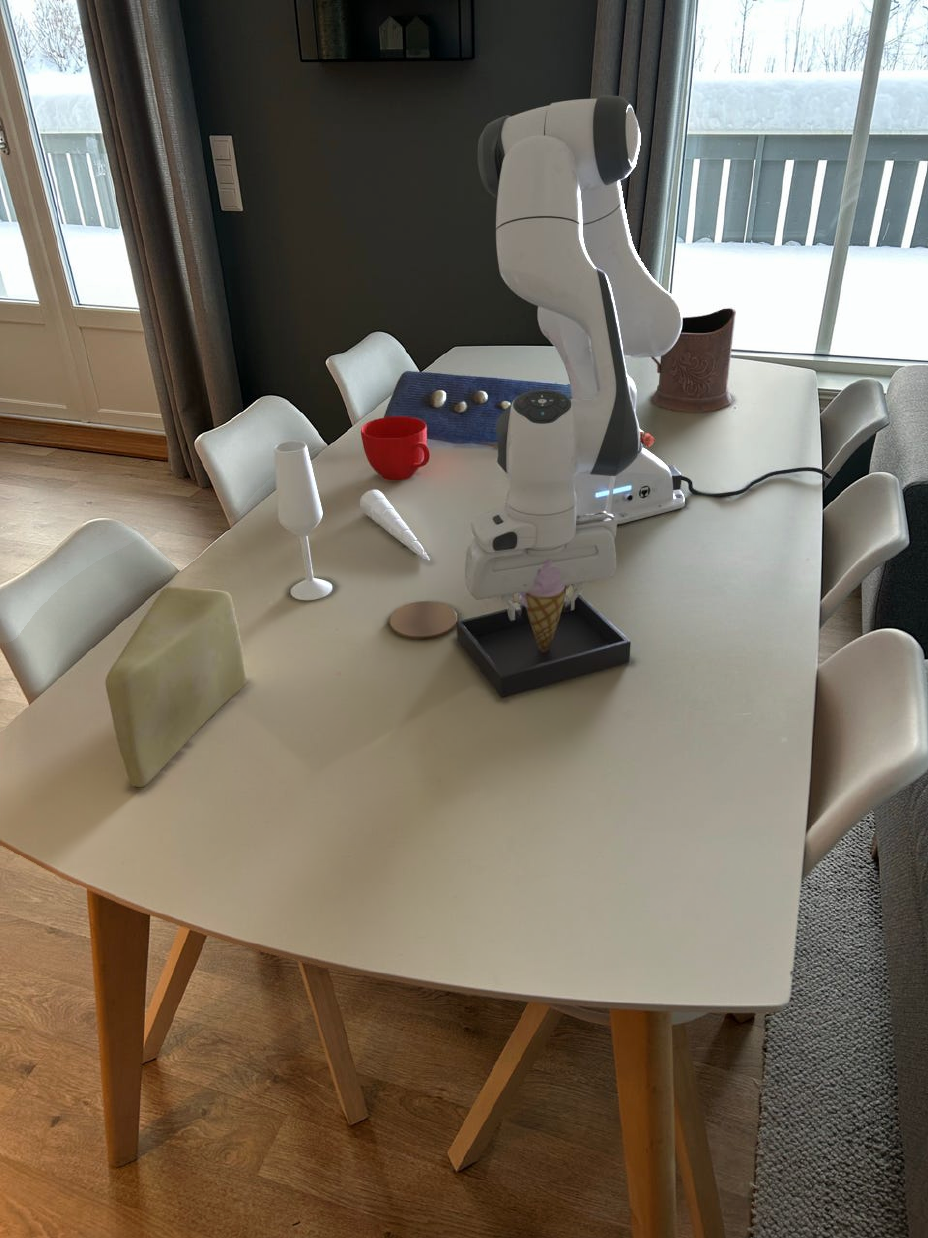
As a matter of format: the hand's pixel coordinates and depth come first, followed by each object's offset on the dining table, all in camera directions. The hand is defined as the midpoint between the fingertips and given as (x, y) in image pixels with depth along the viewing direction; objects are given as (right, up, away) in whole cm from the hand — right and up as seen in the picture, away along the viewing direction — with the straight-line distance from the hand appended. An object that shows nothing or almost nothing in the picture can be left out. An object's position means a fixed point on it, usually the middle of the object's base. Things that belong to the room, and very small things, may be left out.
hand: (541, 613), depth 123 cm
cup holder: (+41, +51, +92) cm, 113 cm away
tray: (0, -5, +3) cm, 6 cm away
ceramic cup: (-23, +28, +59) cm, 69 cm away
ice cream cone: (0, -5, +3) cm, 6 cm away
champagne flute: (-35, +4, +21) cm, 41 cm away
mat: (-5, +43, +82) cm, 93 cm away
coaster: (-17, -1, +11) cm, 20 cm away
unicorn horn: (-22, +14, +37) cm, 45 cm away
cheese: (-46, -15, -9) cm, 49 cm away
